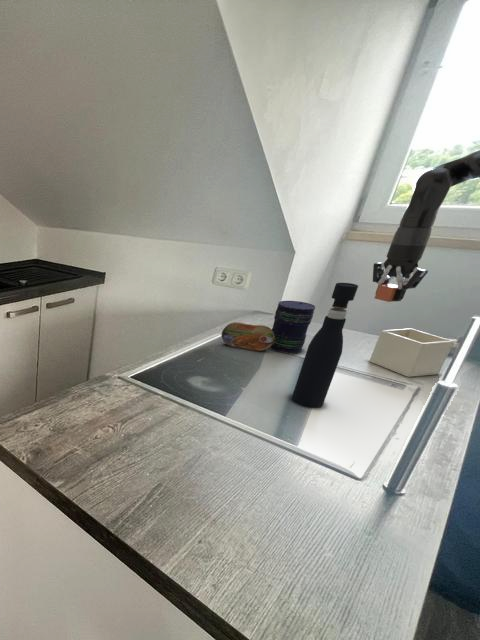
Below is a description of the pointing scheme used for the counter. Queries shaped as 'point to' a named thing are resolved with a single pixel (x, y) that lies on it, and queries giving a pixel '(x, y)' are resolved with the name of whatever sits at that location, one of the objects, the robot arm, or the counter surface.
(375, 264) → the robot arm
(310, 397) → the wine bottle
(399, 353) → the bin
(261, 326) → the tin
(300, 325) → the storage jar
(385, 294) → the block
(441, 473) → the counter surface
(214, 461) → the counter surface
